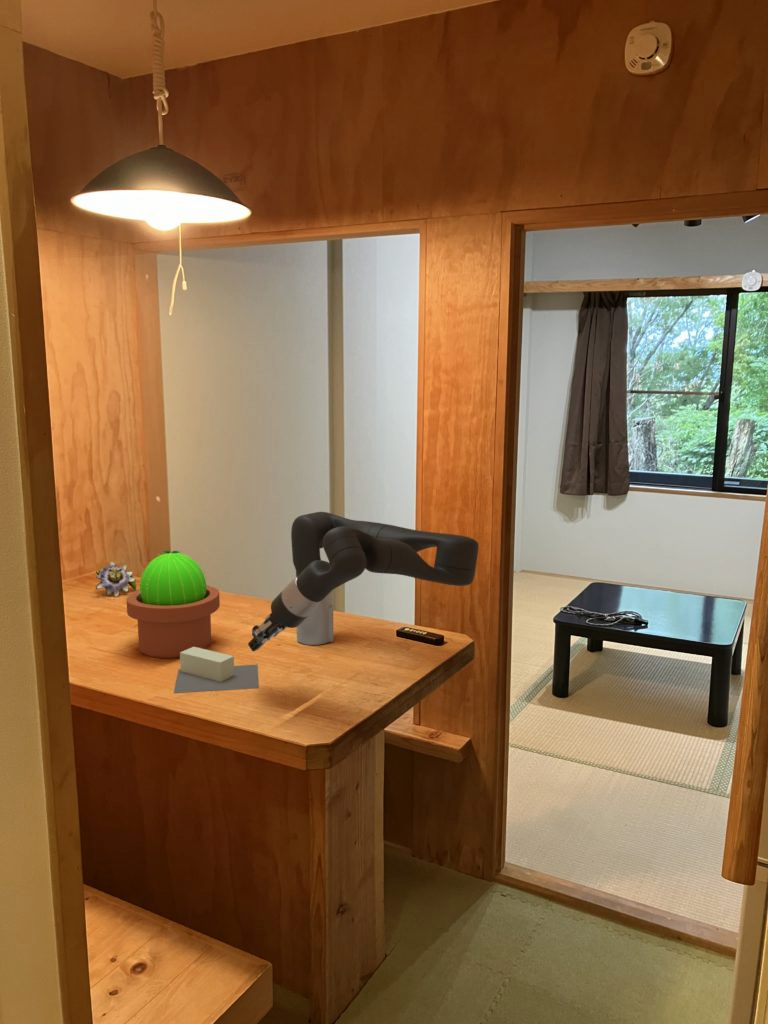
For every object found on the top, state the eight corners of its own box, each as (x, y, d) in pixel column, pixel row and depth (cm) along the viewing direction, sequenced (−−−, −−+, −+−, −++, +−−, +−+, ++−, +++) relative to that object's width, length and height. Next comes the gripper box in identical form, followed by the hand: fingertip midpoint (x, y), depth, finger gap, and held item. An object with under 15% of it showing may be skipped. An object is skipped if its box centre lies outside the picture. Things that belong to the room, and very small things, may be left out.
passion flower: (117, 613, 244) (94, 587, 237) (105, 598, 252) (83, 573, 245) (147, 589, 248) (125, 563, 241) (135, 576, 256) (113, 550, 249)
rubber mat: (257, 668, 187) (257, 664, 186) (259, 692, 173) (258, 687, 173) (178, 673, 183) (178, 668, 183) (173, 697, 170) (173, 693, 170)
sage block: (233, 656, 179) (193, 646, 185) (220, 662, 175) (179, 652, 181) (234, 675, 180) (194, 665, 186) (220, 681, 176) (180, 671, 182)
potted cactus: (197, 666, 188) (194, 563, 183) (112, 658, 192) (107, 557, 188) (233, 635, 209) (230, 542, 204) (156, 629, 213) (152, 538, 209)
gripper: (288, 624, 158) (242, 670, 166) (326, 607, 169) (281, 651, 177) (267, 594, 159) (222, 642, 168) (305, 579, 171) (261, 625, 179)
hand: (252, 647), depth 173 cm, fingers closed
